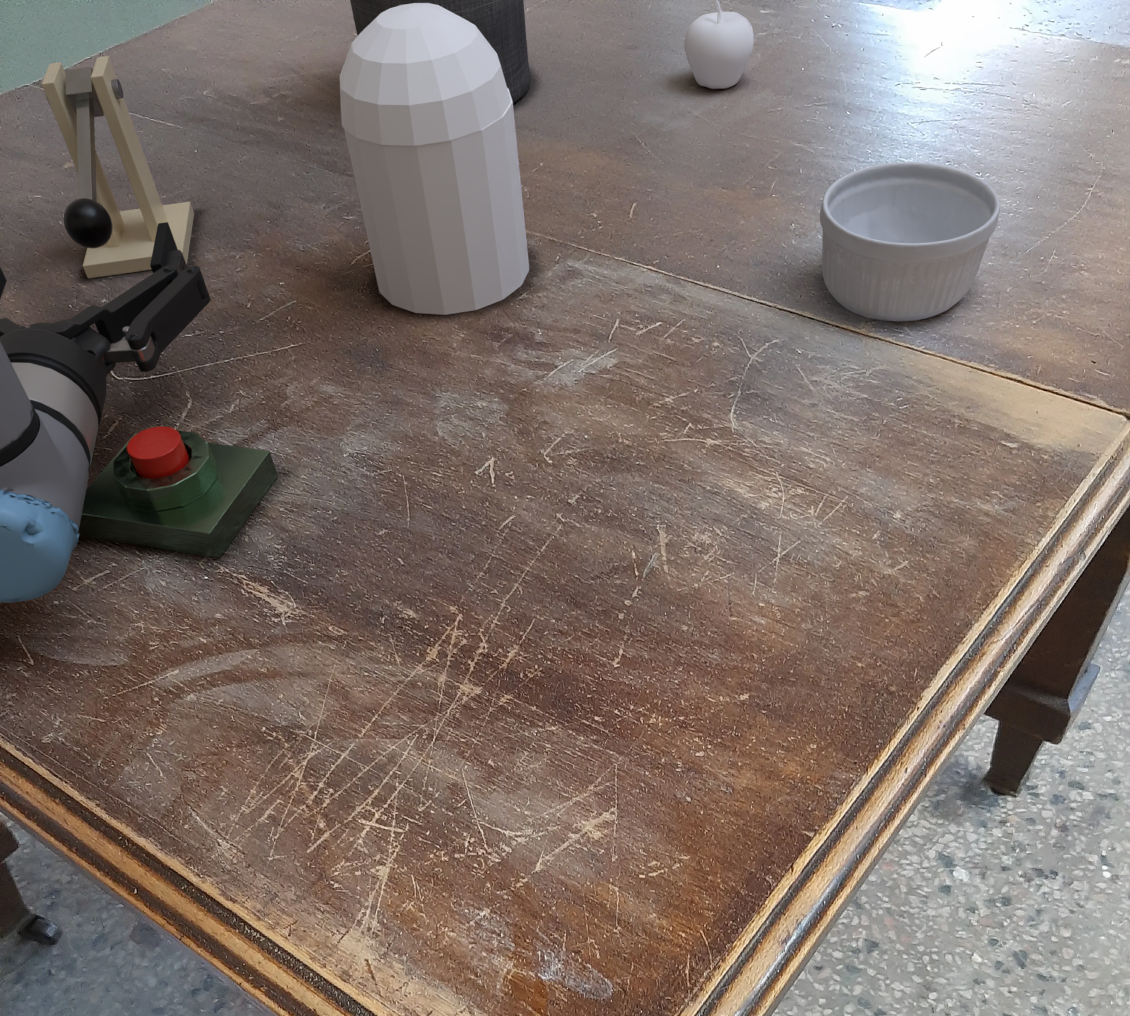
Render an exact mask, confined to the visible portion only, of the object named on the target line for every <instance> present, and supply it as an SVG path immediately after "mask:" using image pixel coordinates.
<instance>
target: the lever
mask: <svg viewBox="0 0 1130 1016" xmlns="http://www.w3.org/2000/svg"><path fill="white" fill-rule="evenodd" d="M64 71H65V82H66V96H67V98H68V100H69V102H70V104H71V106H72V108H73V110H74V112H75V114H76V118H77V158H78V172H77V191H78V192H77V193H78V194H77V195H78V196H77V197H78V198H77V199H75V200H72V201H71V202H70V203H69V204H68V205H67V206H66V208H65V210H64V213H63V225H64V229H65V231H66V233H67V234H68V236H69V237H70V239H71V240H72V241H73V242H75V243H76V244H77V245H79V246H81V247H83V248H86V249H87V248H98V247H101V246H103V245H105V244H106V243H107V242H108V241H109V239H110V237H111V235H112V230H113V225H112V220H111V217H110V215H109V213H108V212H107V210H106V209H105V208H104V207H103V206H102V205H101V204H99V203H98V202H97V192H96V160H95V150H96V135H95V133H96V132H95V131H96V130H95V118H100V117H105V114H104V112H103V109H102V106H101V104H100V101H99V99H98V96H97V93H96V91H95V88H94V85H93V83H92V80H91V75H92V72H93V68H92V67H91V66H86V67H79V68H70V69H64Z"/></svg>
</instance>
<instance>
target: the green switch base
mask: <svg viewBox="0 0 1130 1016" xmlns="http://www.w3.org/2000/svg"><path fill="white" fill-rule="evenodd" d="M176 430H177V431H178V432H179V434H180V436H181V438H182V441H183V443H184V445H185V448H186V450H187V453H188V455H189V461H188V463H187V464H186V466H185V467H184V468H183V469H181V470H179V471H177V472H175V473H173V474H172V475H170V476H166V477H161V478H156V479H148V478H143V477H141V476H140V475H139V474H138V473H137V471H136V469H135V467H134V465H133V463H132V461H131V459H130V456H129V454H128V452H127V445H128V442H129V441H130V439H131V438H132V437H134V436H135V435H136V434H138V433H139V432H135V433H134V434H133V435H132V436H131V437H130V438H129V439H128V441H127V442H126V443H125V444H124V445H123V446H122V447H121V448H120V449H119V451H118V452H117V453H116V455H115V456H113V458H112V459H111V460H110V461H109V463H108V464H107V465H106V466H105V467H104V468H103V469H102V471H101V472H99V474H98V475H97V476H96V478H95V479H94V480H93V481H92V482H91V483H90V484H89V486H87V488H86V494H85V499H84V504H83V510H82V515H81V520H80V526H79V531H78V533H79V536H80V537H84V538H89V539H90V538H91V539H97V540H104V541H108V542H109V541H110V542H116V543H123V544H128V545H134V546H141V547H147V548H153V549H159V550H165V551H172V552H177V553H184V554H188V555H189V554H190V555H196V556H203V557H207V558H208V557H209V558H215V559H221V558H222V557H223V555H224V554H225V552H226V550H227V549H228V548H229V546H230V545H231V543H232V542H233V540H235V538H236V536H237V535H238V533H239V532H240V531H241V529H242V528H243V527H244V526H245V524H246V522H247V521H248V519H249V518H250V517H251V515H252V514H253V512H254V511H255V510H256V508H257V507H258V505H259V504H260V502H261V501H262V500H263V498H264V497H265V496H266V494H267V493H268V491H269V490H270V488H271V487H272V486H273V484H274V483H275V482H276V480H277V479H278V477H279V474H278V471H277V469H276V468H277V467H276V466H275V463H274V459H273V457H272V454H271V451H270V450H266V449H265V450H264V449H258V448H250V447H243V446H236V445H227V444H221V443H215V442H214V443H213V442H208V441H207V440H206V439H204V438H203V437H201V436H200V435H199V434H198V433H197V432H194V431H186V430H179V429H176Z"/></svg>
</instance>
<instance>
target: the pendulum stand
mask: <svg viewBox="0 0 1130 1016" xmlns="http://www.w3.org/2000/svg"><path fill="white" fill-rule="evenodd" d="M92 70H93V72H92V75H91V80H92V83H93V85H94V88H95V91H96V93H97V96H98V99H99V101H100V104H101V106H102V109H103V112H104V117H105V119H106V123H107V126H108V128H109V130H110V133H111V136H112V139H113V141H114V144H115V146H116V148H117V152H118V154H119V157H120V160H121V163H122V165H123V168H124V170H125V173H126V176H127V178H128V181H129V183H130V187H131V189H132V192H133V194H134V198H135V199H136V202H137V205H138V208H134V209H133V208H132V209H126V210H120V209H119V206H118V204H117V201H116V199H115V197H114V194H113V191H112V188H111V185H110V184H109V181H108V178H107V176H106V173H105V171H104V168H103V165H102V163H101V161H100V158H99V155H98V152H97V150H96V149H95V160H96V192H97V202H98V203H99V204H101V205H102V206H103V207H104V208H105V209H106V210H107V212H108V213H109V215H110V217H111V220H112V225H113V230H112V235H111V237H110V239H109V241H108V242H107V243H106V244H105V245H103V246H101V247H98V248H86V252H85V255H84V259H83V263H82V268H83V270H84V273H85V275H86V277H87V279H95V278H101V277H102V278H103V277H109V276H115V275H123V274H129V273H138V272H144V271H150V270H151V271H152V269H151V266H150V263H151V258H152V253H153V247H154V242H155V237H156V232H157V227H158V223H165V222H168V224H169V227H170V229H171V232H172V235H173V238H174V241H175V243H176V246H177V249H178V250H180V251H181V252H182V254H183V257H184V260H185V263H186V266H187V265H188V260H189V252H190V245H191V240H192V239H191V237H192V232H193V225H194V219H195V211H194V209H193V206H192V205H193V204H192V203H191V201H183V202H176V203H170V204H163V203H162V200H161V197H160V195H159V191H158V189H157V186H156V183H155V180H154V178H153V175H152V172H151V169H150V166H149V164H148V162H147V161H148V160H147V159H146V156H145V153H144V151H143V148H142V145H141V142H140V138H139V136H138V133H137V130H136V127H135V125H134V122H133V119H132V117H131V114H130V111H129V109H128V105H127V103H126V100H125V97H124V90H123V86H122V83H121V81H120V80H119V79H118V78H117V75H116V71H115V69H114V66H113V64H112V60H111V58H110V56H109V55H105V56H97V57H96V60H95V63H94V66H93V68H92ZM41 87H42V89H43V91H44V94H45V97H46V100H47V103H48V104H49V106H50V108H51V110H52V114H53V116H54V118H55V120H56V123H57V126H58V128H59V130H60V133H61V135H62V138H63V140H64V143H65V145H66V148H67V150H68V153H69V155H70V157H71V160H72V163H73V164H74V167H75V170H76V172H77V173H78V158H77V118H76V114H75V112H74V110H73V108H72V106H71V104H70V102H69V100H68V98H67V96H66V82H65V68H64V66H63V63H62V62H59V61H58V62H53V63H49V64H48V66H47V69H46V72H45V75H44V76H43V79H42V82H41Z"/></svg>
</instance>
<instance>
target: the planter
mask: <svg viewBox="0 0 1130 1016" xmlns="http://www.w3.org/2000/svg"><path fill="white" fill-rule="evenodd" d="M524 1H525V0H349V2H350V7H351V11H352V17H353V22H354V28H355V31H356V37H357V36H358V35H359V34H360V33H361V32H362V31H363V30H364V29H365V28H366V27H367V26H368V25H369V24H370V23H371V22H372V21H373V20H374V19H375V18H376V17H377V16H378V15H379V14H380V13H382V12H384V11H386V10H388V9H390V8H393V7H396V6H400V5H405V4H412V3H430V4H435V5H439V6H441V7H443V8H445V9H447V10H449V11H450V12H452V13H454V14H456V15H458V16H460V17H462V18H464V19H465V20H467V21H469V22H471V23H472V24H474V25H475V26H476V27H477V28H478V30H479V31H480V32H481V33H482V35H483V36H484V37H485V39H486V40H487V41H488V43H489V44H490V45H491V47H492V48H493V49H494V50H495V52H496V53H497V55H498V58H499V62H500V65H501V68H502V72H503V75H504V79H505V82H506V86H507V88H508V89H509V92H510V95H511V98H512V101H513V104H514V103H516V102H517V101H519V100H520V99H521V98H522V97H524V95H525V94H526V93H527V92H528V90H529V88H530V86H531V81H532V80H531V71H530V70H531V69H530V63H529V54H528V53H529V51H528V40H527V28H526V16H525V2H524Z"/></svg>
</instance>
